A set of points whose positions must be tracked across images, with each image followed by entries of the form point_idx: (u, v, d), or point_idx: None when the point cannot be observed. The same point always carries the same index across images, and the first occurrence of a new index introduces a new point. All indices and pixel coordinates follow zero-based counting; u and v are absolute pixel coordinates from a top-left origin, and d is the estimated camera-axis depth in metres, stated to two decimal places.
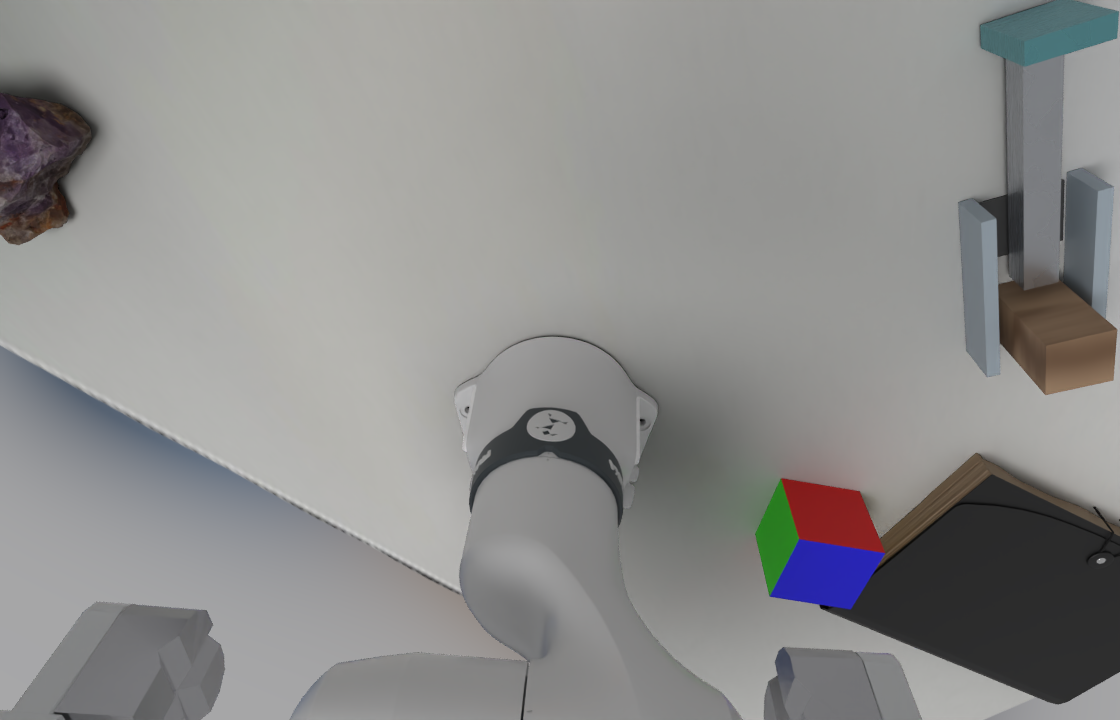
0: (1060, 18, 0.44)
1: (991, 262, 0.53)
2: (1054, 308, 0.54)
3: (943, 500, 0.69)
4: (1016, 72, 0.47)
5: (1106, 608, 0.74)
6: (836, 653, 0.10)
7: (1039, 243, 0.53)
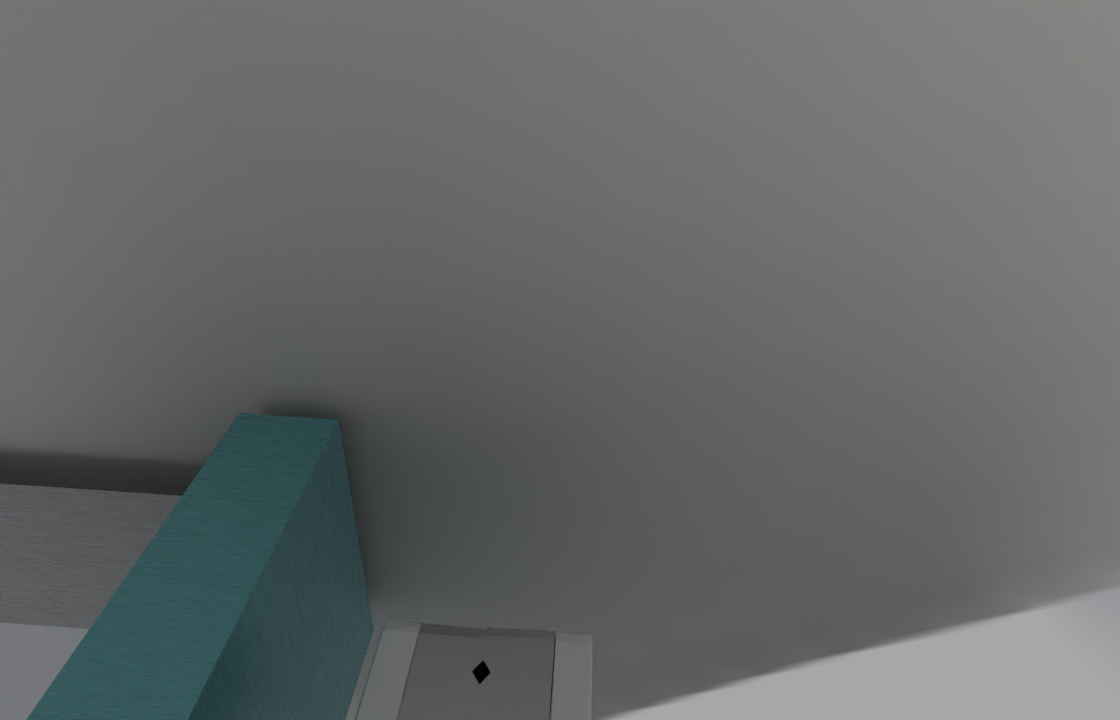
0: None
1: None
2: None
3: None
4: (81, 564, 0.10)
5: None
6: (535, 633, 0.10)
7: None
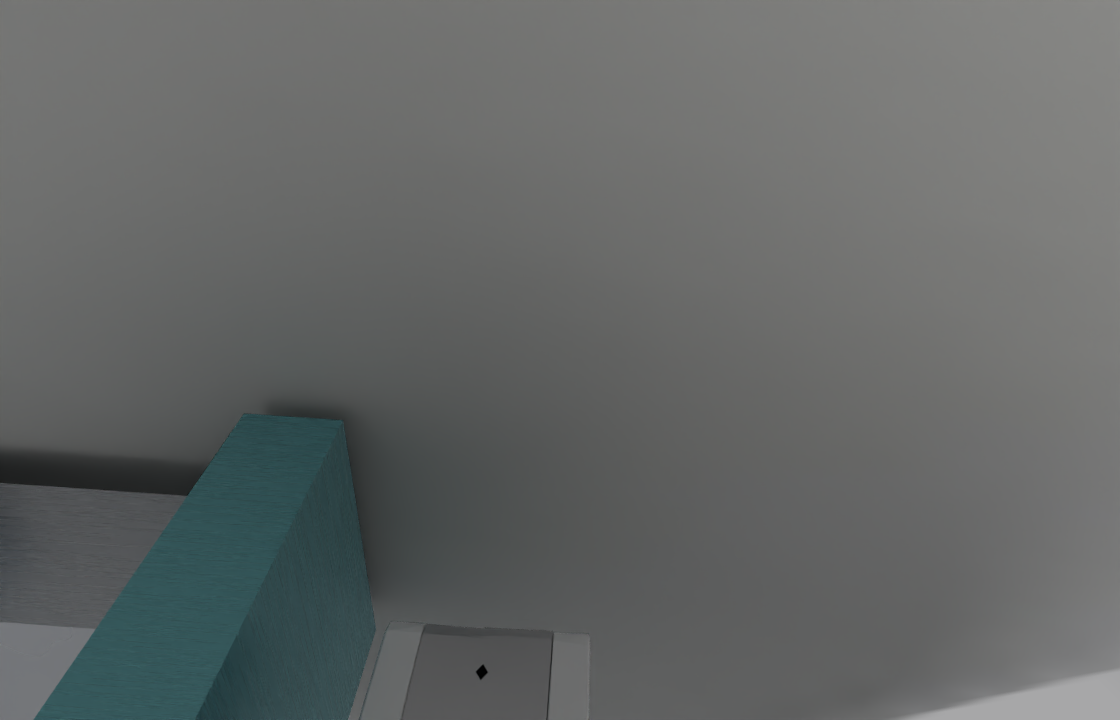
0: None
1: None
2: None
3: None
4: (85, 565, 0.10)
5: None
6: (532, 633, 0.10)
7: None
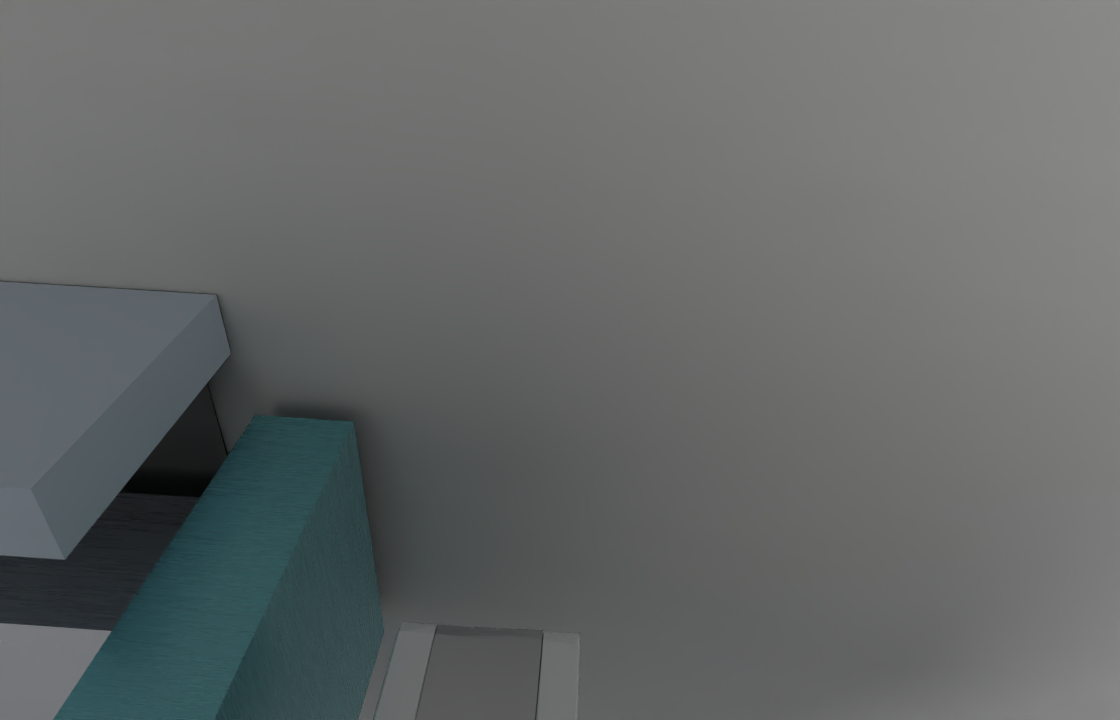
0: None
1: None
2: None
3: None
4: (97, 566, 0.10)
5: None
6: (522, 632, 0.10)
7: None
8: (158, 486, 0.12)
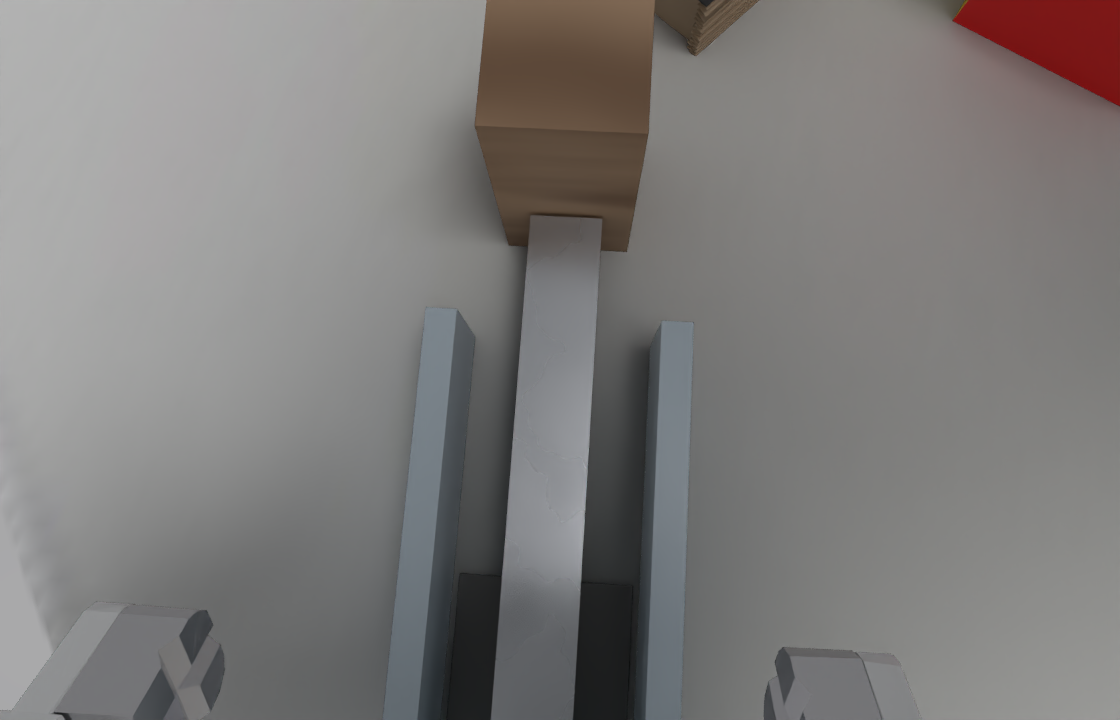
0: None
1: (661, 678, 0.21)
2: (557, 194, 0.23)
3: None
4: None
5: None
6: (836, 653, 0.10)
7: (563, 325, 0.23)
8: None
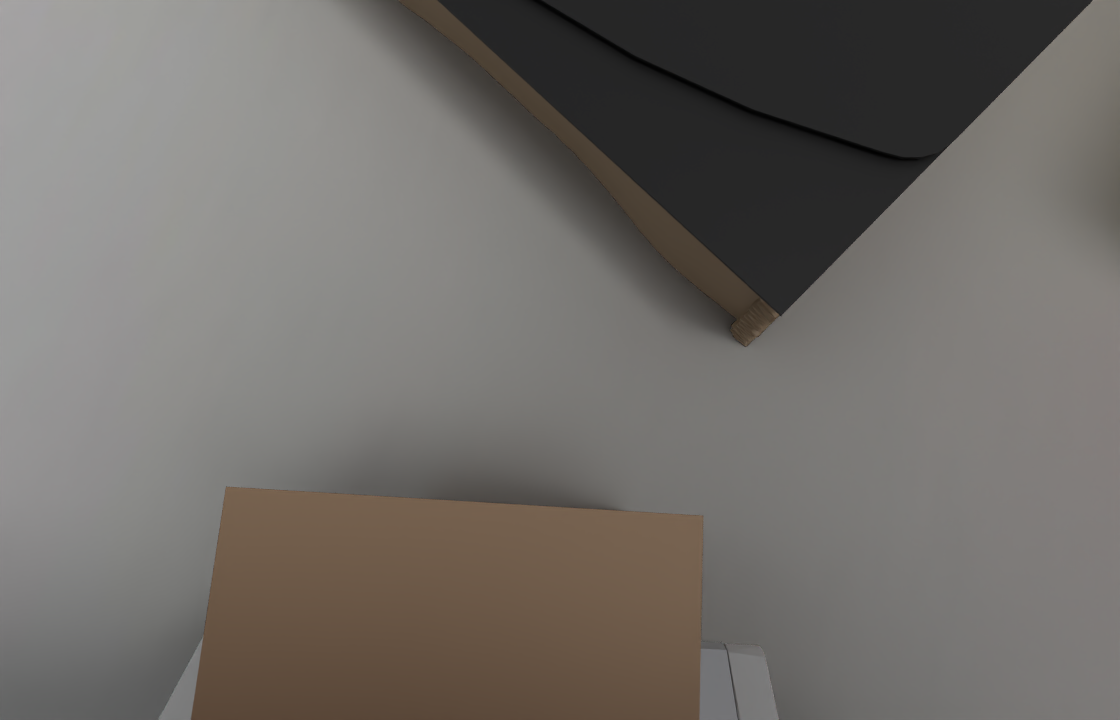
0: None
1: None
2: None
3: None
4: None
5: None
6: (704, 644, 0.10)
7: None
8: None
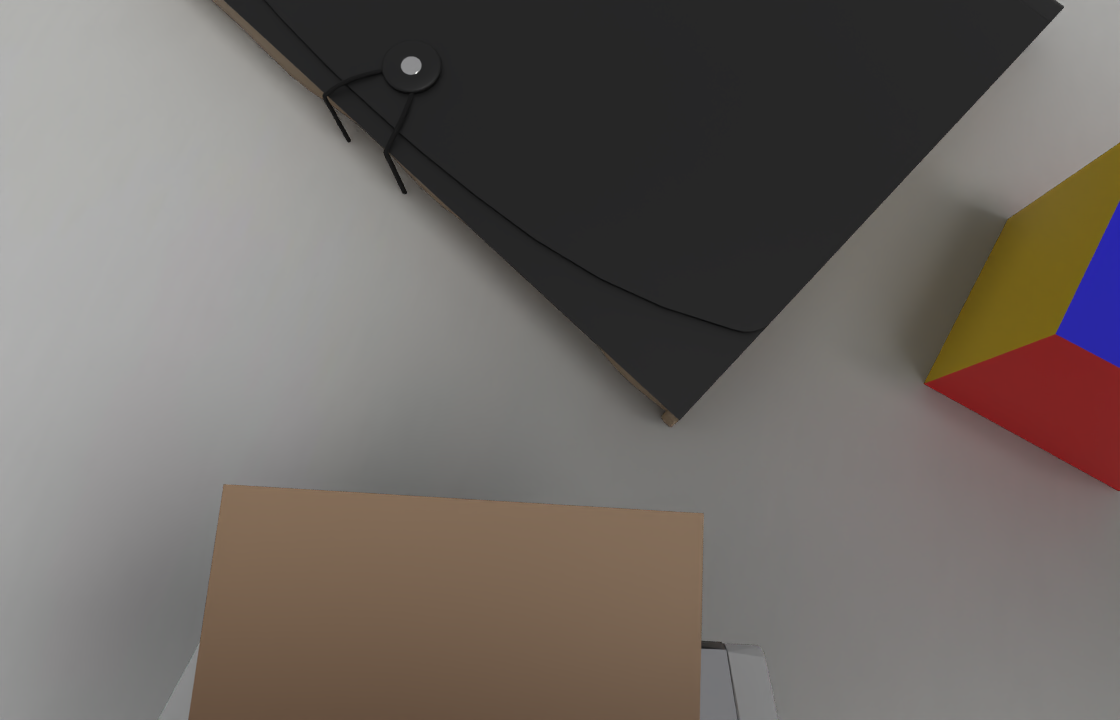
0: None
1: None
2: None
3: None
4: None
5: None
6: (703, 644, 0.10)
7: None
8: None
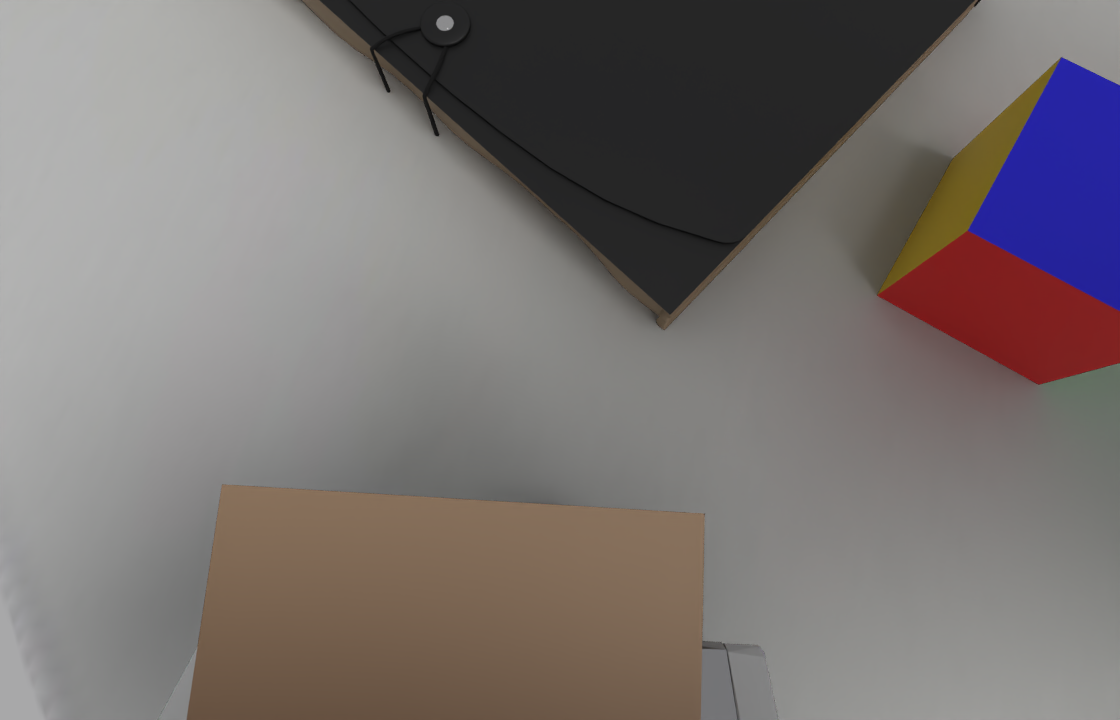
0: None
1: None
2: None
3: (745, 238, 0.32)
4: None
5: None
6: (703, 644, 0.10)
7: None
8: None
